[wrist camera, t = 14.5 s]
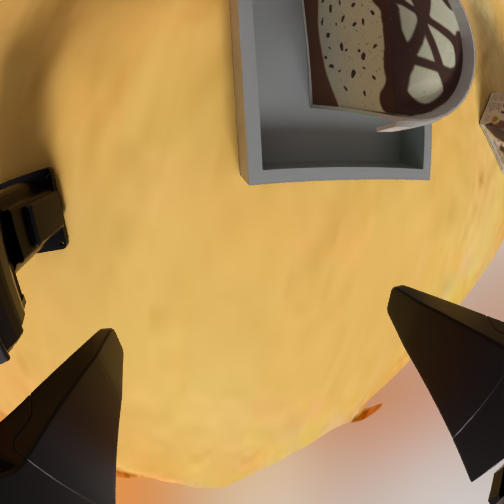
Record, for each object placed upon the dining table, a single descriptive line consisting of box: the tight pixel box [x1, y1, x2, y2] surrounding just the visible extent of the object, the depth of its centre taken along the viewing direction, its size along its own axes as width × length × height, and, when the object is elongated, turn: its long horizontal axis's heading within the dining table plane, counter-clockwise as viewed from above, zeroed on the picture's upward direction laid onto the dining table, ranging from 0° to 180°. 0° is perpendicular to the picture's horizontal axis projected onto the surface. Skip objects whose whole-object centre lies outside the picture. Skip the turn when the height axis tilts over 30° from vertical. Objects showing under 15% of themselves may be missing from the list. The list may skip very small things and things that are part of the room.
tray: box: [229, 0, 432, 185], centre depth 14 cm, size 14×20×4 cm
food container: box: [301, 0, 476, 132], centre depth 11 cm, size 12×6×10 cm, turn 3°
